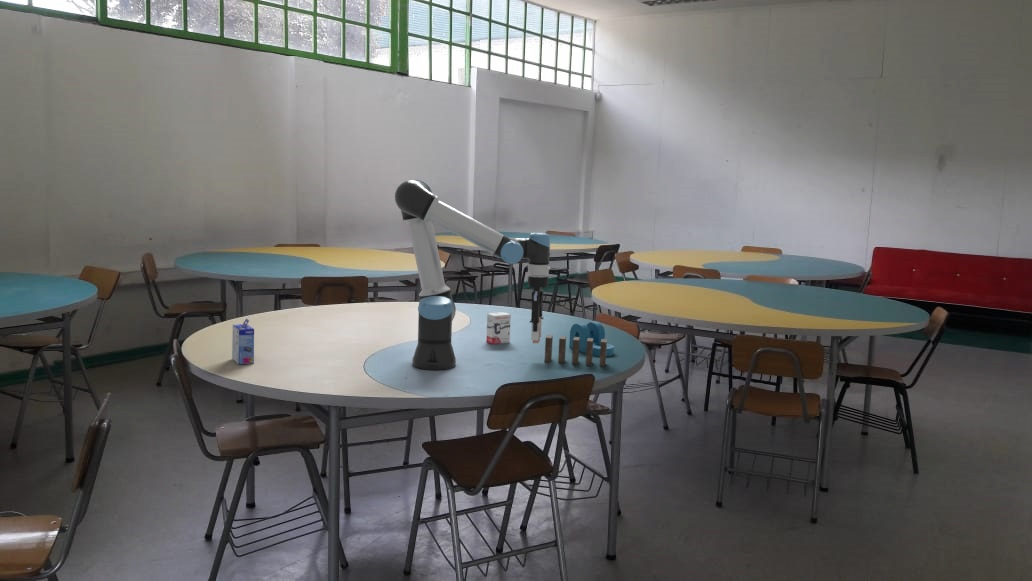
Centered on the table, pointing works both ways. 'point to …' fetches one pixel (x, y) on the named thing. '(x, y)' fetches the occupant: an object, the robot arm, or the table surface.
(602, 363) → the tile
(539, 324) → the tile
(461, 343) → the table surface
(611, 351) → the camera mount
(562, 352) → the tile
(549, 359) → the tile
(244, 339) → the ink cartridge box
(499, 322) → the ink box
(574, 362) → the tile
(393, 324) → the table surface
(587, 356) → the tile
